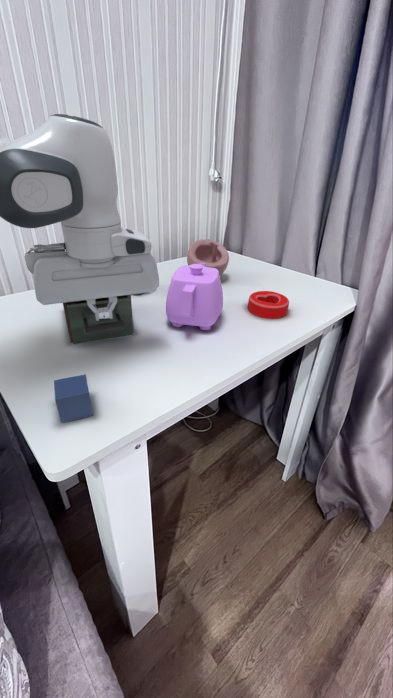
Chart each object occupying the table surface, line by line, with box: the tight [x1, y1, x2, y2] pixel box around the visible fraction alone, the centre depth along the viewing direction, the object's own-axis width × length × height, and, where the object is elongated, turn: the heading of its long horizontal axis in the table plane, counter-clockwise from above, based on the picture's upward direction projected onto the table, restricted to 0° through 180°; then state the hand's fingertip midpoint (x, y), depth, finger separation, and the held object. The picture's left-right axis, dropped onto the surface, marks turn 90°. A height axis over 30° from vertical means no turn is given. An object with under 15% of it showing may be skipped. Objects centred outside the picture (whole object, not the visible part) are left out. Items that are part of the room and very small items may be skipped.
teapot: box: [165, 263, 224, 331], centre depth 73 cm, size 20×12×13 cm, turn 169°
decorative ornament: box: [247, 290, 290, 320], centre depth 81 cm, size 10×10×3 cm
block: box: [53, 374, 94, 424], centre depth 49 cm, size 4×4×4 cm
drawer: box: [67, 296, 134, 345], centre depth 67 cm, size 18×11×8 cm, turn 22°
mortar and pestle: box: [186, 238, 230, 277], centre depth 95 cm, size 12×12×12 cm
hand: (104, 318), depth 60 cm, fingers closed
